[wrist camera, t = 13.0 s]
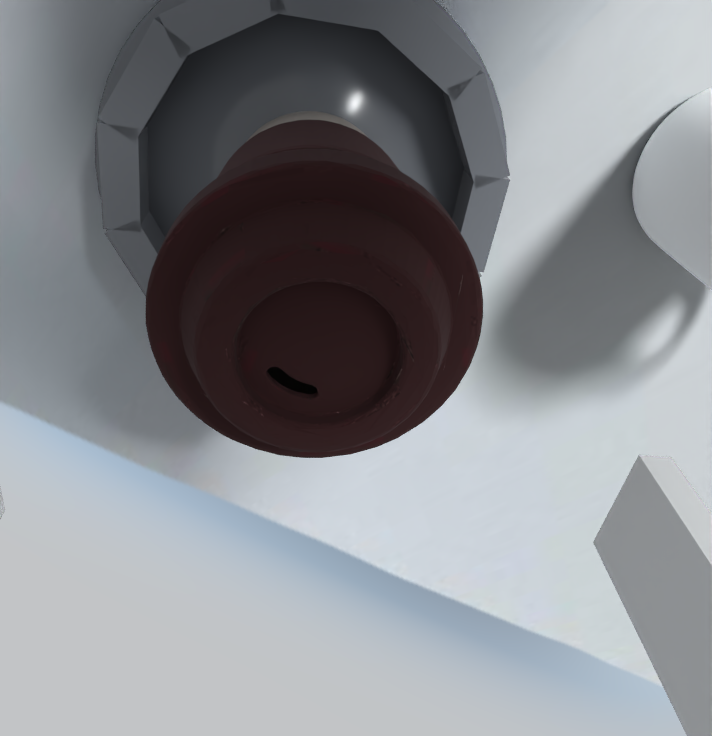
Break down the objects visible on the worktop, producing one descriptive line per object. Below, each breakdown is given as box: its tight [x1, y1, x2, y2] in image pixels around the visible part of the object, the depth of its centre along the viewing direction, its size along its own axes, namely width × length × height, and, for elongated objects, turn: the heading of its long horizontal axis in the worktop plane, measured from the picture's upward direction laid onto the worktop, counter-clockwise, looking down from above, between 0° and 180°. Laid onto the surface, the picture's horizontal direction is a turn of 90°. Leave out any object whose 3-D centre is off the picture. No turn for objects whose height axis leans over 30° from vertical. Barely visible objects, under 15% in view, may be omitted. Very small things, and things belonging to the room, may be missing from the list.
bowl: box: [95, 0, 510, 296], centre depth 30 cm, size 19×19×3 cm
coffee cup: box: [146, 111, 483, 458], centre depth 24 cm, size 10×10×15 cm
